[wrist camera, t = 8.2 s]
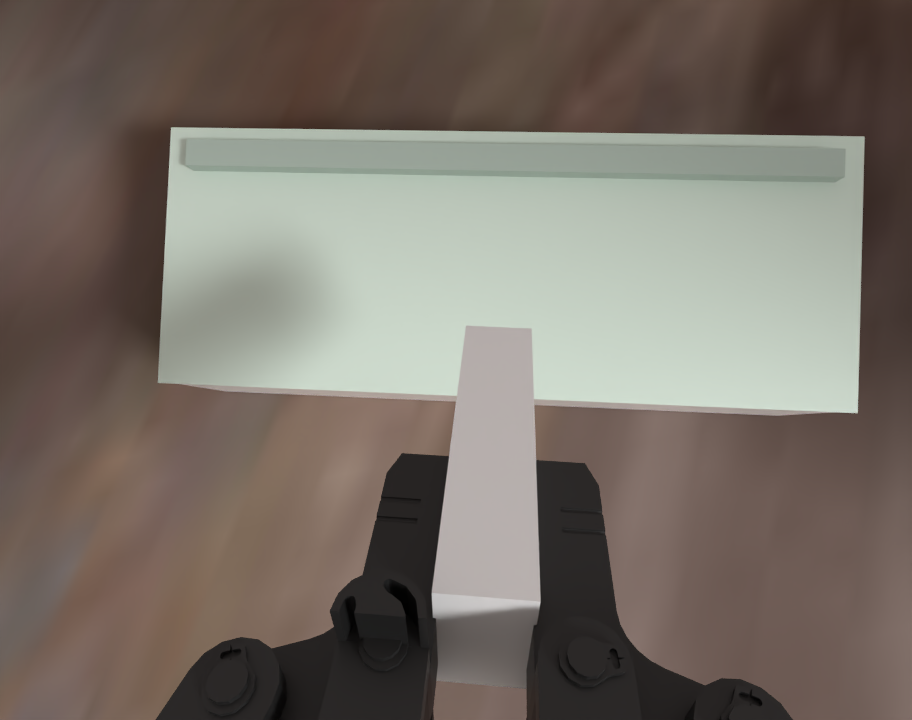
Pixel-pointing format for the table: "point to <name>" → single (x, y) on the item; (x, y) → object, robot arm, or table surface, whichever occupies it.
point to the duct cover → (517, 262)
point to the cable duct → (536, 401)
